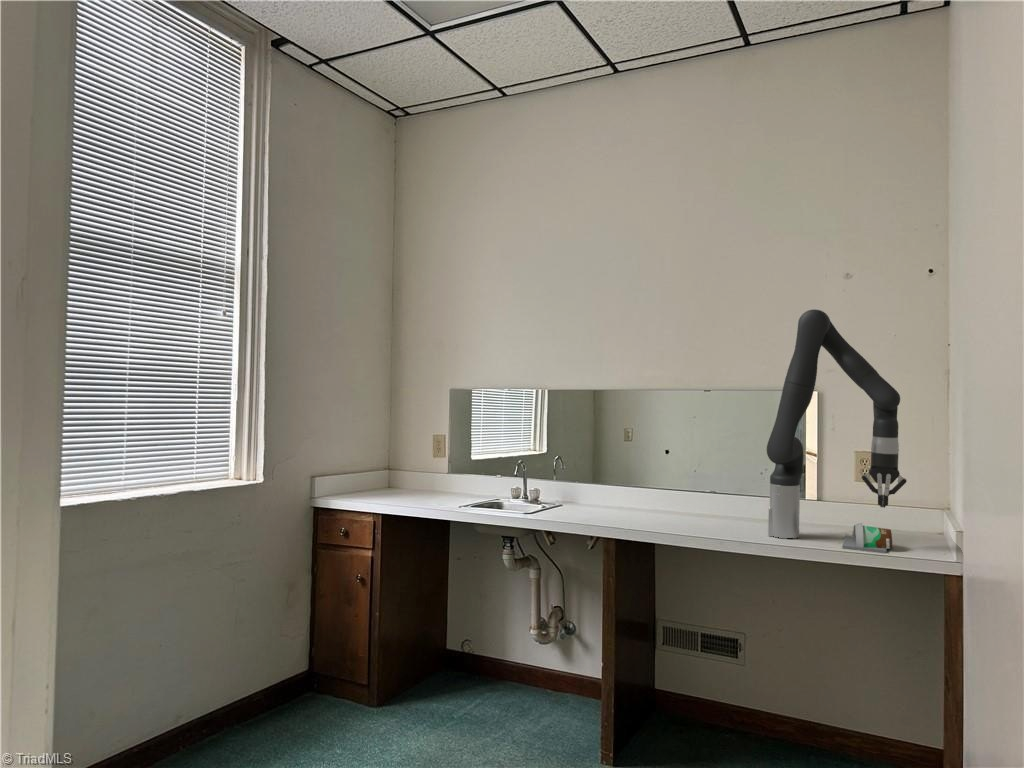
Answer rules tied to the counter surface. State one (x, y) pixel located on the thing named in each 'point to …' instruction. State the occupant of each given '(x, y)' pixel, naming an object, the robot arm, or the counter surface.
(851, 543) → the mat
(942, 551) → the counter surface
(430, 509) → the counter surface
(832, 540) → the counter surface
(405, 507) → the counter surface
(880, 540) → the food container
